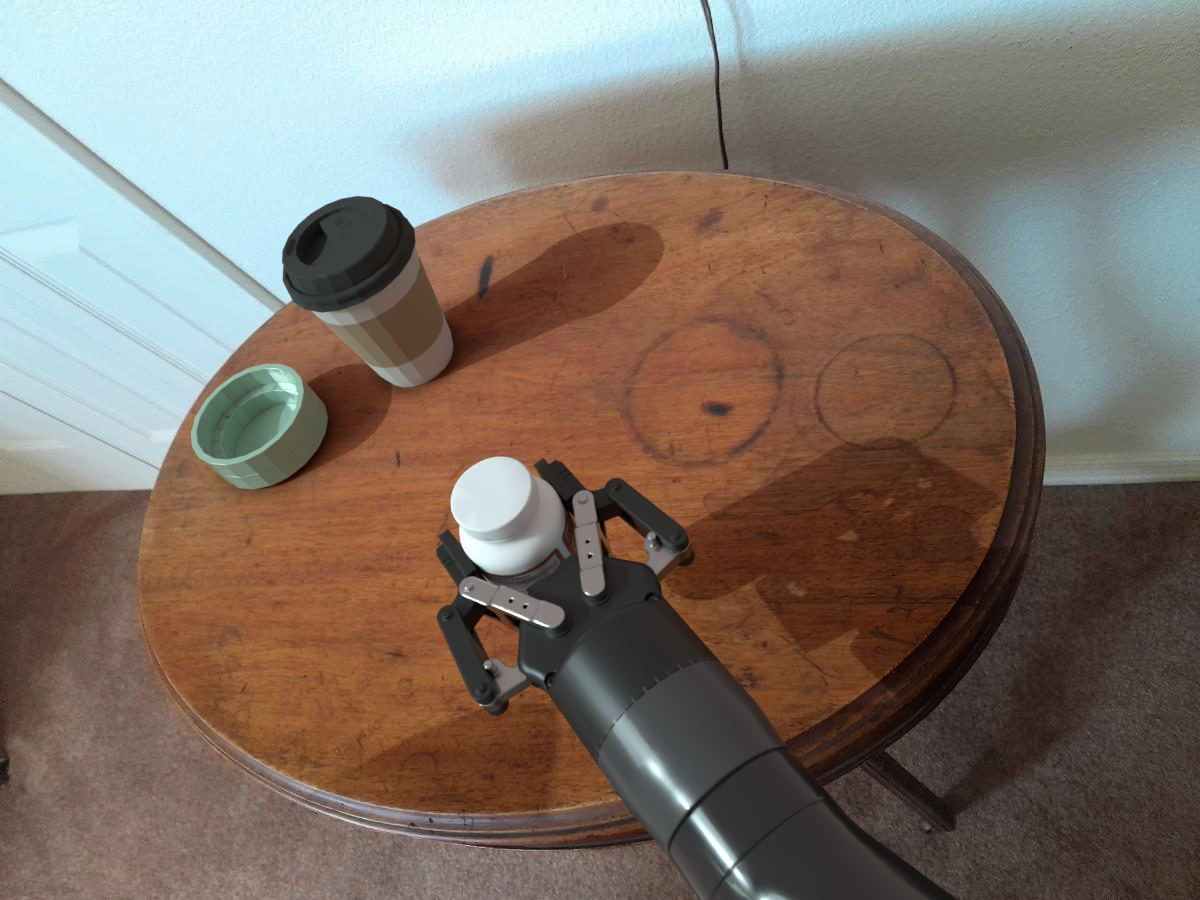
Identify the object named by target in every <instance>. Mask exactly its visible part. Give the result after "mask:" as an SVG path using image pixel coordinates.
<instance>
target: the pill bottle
mask: <svg viewBox="0 0 1200 900" xmlns="http://www.w3.org/2000/svg"><path fill="white" fill-rule="evenodd" d="M450 510H451V514H452V516H453V518H454V519H455V521H456V522H457V524H458V525H459V531H458V533H459V539H460V540H459V542H460V544H461V545H462V547H463V549H464V551H465V553H466V555H467V556H468V558H469V559H470V560H471V561H472V563H473V564H474V565H475V566H476V567H477V569H478V570H479V571H480V572H481V573H482V575H483V576H484V577H485V579H486V580H487V582H489V583H491V584H494V585H496V586H500V585H503V586H506V587H508V588H511V589H513V590H516V591H518V592H521V593H523V594H526V595H527V594H528V592H527V590H526V589H527V588H529V587H530V586H531V585H532V584H534V583H535V582H536V581H538V580H540V579H542V578H544V577H546V576H548V575H550V574H552V573H553V571H554V570H555V569H556V568H557V567H558V565H559V564H560V563H561V562H562V561H563V560H565V559H566V558H567V557H568V556H570V555H571V554H572V553H573V554H574V556H578V550H577V543H576V537H575V527H576V523H575V518H574V517H573V516H572V515H571V513H570V512H569V511H568V509H567V508H566V506H565V504H564V503H563V501H562V499H561V498H560V496H559V495H558V493H557V492H556V491H555V489H554V488H553V487H552V486H551V485H550V484H549V483H547V482H546V481H545V480H543V479H541V477H540V476H537V475H533V474H532V473H531V472H530V470H529V469H528V467H526V465H525V464H524V463H523V462H521V461H519V460H518V459H516V458H514V457H510V456H493V457H488V458H484V459H483V460H480V461H478V462H476V463H475V464H473V465H472V466H470V467H469V468H468V469H467V470H465V471H464V472H463V473H462V474H461V476H459V478H458V479H457V481H456V483H455V484H454V487H453V489H452V492H451V496H450Z"/></svg>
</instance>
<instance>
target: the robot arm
mask: <svg viewBox="0 0 1200 900" xmlns="http://www.w3.org/2000/svg"><path fill="white" fill-rule="evenodd" d="M533 467H534V469H535V470H536V472H537V474H538V475H539V478H541V479H543V480H545V481H546V482H547V483H549V484H550V485H551V486H552V487H553V488H554V489H555V491H556V492H557V493H558V495H559V496H560V498H561V499H562V501H563V503H564V504H565V506H566V508H567V509H568V511H569V513H570V514H571V516H572V518H573V519H574V521H575V523H576V527H575V537H576V543H577V550H578V556H574V554H573V553H572V554H571V555H570V556H568V557H567V558H566V559H565V560H563V561H562V562H561V563H560V564H559V565H558V567H557V568H556V569H555V570H554V571H553V573H552V574H550V575H548V576H546V577H544V578H542V579H540V580H538V581H536V582H535V583H534V584H532V585H531V586H530V587H529V588H527V589H526V590H527V592H528V594H527V595H526V594H523V593H521V592H518V591H516V590H513V589H511V588H508V587H506V586H503V585H500V586H496V585H494V584H491V583H489V582H488V580H487V579H486V578H485V577H484V576H483V574H482V573H481V572H480V571H479V570H478V569H477V567H476V566H475V565H474V564H473V563H472V561H471V560H470V559H469V558H468V556H467V555H466V553H465V551H464V549H463V547H462V544H461V542H460V541H459V539H457V538H456V537H455V535H454V534H453V532H451V531H450V530H449V528H446V529H445V530H444V531H443V532H440V534H438V535H437V537H438V539H439V540H440V542H441V543H442V544H440V545H438V547H436V548H435V551H436V552H435V553H436V558H437V559H438V560H439V562H440V564H442V566H443V568H444V569H445V571H446V572H447V573H448V575H449V577H450V578H451V579H452V581H453V582H454V584H455V586H456V588H457V593H456V596H455V598H454V599H453V600H452V602H451V603H450V604H446V605H443V606H442V607H441V608H440V609H439V610H438V611H437V614H436V621H437V624H438V626H439V628H440V631H441V633H442V636H443V637H444V640H445V642H446V644H447V647H448V648H449V649H448V650H449V651H450V653H451V655H452V657H453V660H454V662H455V664H456V666H457V669H458V670H459V674H460V676H461V678H462V680H463V682H464V684H465V687H466V690H467V691H468V694H469V696H470V698H471V699H473V700H474V701H475V702H476V703H477V704H478V705H479V706H480V707H481V708H482V709H484V710H485V711H486V712H488V713H489V714H490V715H491V716H494V717H498V716H502V715H503V714H505V713H506V712H507V710H508V708H509V706H510V700H511V699H512V698H513V697H515V696H517V695H518V694H520V693H521V692H523V691H525V690H526V689H528V688H530V687H531V686H532V687H534V688H535V689H539V690H541V691H543V692H545V693H546V694H547V695H548V696H549V698H550V699H551V701H552V702H553V704H554V705H555V707H556V708H557V709H558V711H559V712H560V713H561V715H562V717H563V718H564V719H565V720H566V722H567V723H568V725H569V726H570V728H571V729H572V731H573V732H574V733H575V735H576V736H577V738H578V739H579V741H580V743H581V744H582V745H583V746H584V748H585V749H586V751H587V752H588V753H589V755H590V756H591V758H592V760H593V761H594V762H595V764H596V765H597V767H598V768H599V770H600V771H601V773H602V774H603V775H604V777H605V778H606V779H607V781H608V782H609V785H610V786H611V788H612V790H613V792H614V793H615V794H616V795H617V796H618V797H619V799H620V800H621V801H622V803H623V804H624V806H625V807H626V808H627V810H628V811H629V812H630V814H631V815H632V816H633V817H634V818H635V819H636V821H637V822H638V823H639V824H640V825H641V827H642V828H643V829H644V830H645V831H646V832H647V833H648V834H649V835H650V836H651V837H652V839H654V840H655V842H656V843H657V844H658V845H659V846H660V848H661V850H662V851H664V853H665V854H666V855H667V856H668V857H669V859H670V860H671V862H672V863H673V865H674V866H675V868H676V869H677V870H678V872H679V874H680V875H681V877H682V878H683V879H684V880H685V882H686V883H687V885H688V886H689V888H690V889H691V890H692V892H693V894H694V895H695V896H696V898H697V899H698V900H960V899H959V898H957V897H956V896H954V895H953V894H952V893H950V892H949V891H947V890H946V889H945V888H943V887H942V886H940V885H939V884H937V882H935V881H934V880H932V879H930V878H929V877H928V876H927V875H925V874H923V872H922V871H920V870H918V869H917V868H916V867H914V866H913V865H912V864H910V863H909V862H907V860H905V859H904V858H902V857H901V856H900V855H899V854H897V853H895V852H894V851H893V850H891V849H890V848H889V847H887V846H886V845H884V844H883V843H882V842H880V841H879V840H878V839H876V838H875V837H873V836H872V835H871V834H869V833H868V832H867V831H865V830H864V829H863V828H862V827H860V825H858V824H857V823H856V822H855V821H854V820H853V819H852V818H851V817H850V816H849V815H848V814H847V812H846V811H845V810H844V809H843V808H842V807H841V806H840V804H839V803H838V802H837V800H835V799H834V797H832V796H831V794H830V793H829V792H828V791H827V789H825V787H824V786H823V785H822V784H821V783H820V782H819V781H818V779H817V778H816V777H815V776H814V775H813V774H812V773H811V771H810V770H809V769H808V768H807V767H806V766H805V765H804V763H803V762H802V761H801V760H800V759H799V758H798V757H797V755H796V754H795V753H794V752H793V751H792V750H791V749H790V747H789V746H788V745H787V743H786V742H785V741H784V740H783V738H782V737H781V736H780V734H779V733H778V731H777V729H776V728H775V726H774V725H773V724H772V722H771V720H770V719H769V716H767V714H766V713H765V712H764V710H763V709H762V708H761V706H760V705H759V704H758V703H757V701H756V700H755V699H754V698H753V696H751V694H749V692H748V690H746V689H745V688H744V686H743V685H742V684H741V683H740V682H739V680H737V679H736V677H735V676H734V675H733V674H732V672H731V671H730V670H728V668H727V667H726V666H725V665H724V663H722V661H721V660H720V659H719V658H718V657H717V656H716V655H715V653H714V652H713V651H712V650H711V649H710V648H709V646H708V645H706V643H705V642H704V641H703V640H702V639H701V638H700V637H699V635H698V634H697V633H696V632H695V631H694V630H693V629H692V628H691V626H690V625H689V624H688V623H687V622H686V621H685V619H684V618H683V617H682V616H681V615H680V613H679V612H677V611H676V609H675V608H674V607H673V606H672V605H671V603H670V602H669V601H668V600H667V599H666V598H665V597H664V595H663V589H662V584H661V582H662V581H663V580H664V579H665V578H666V577H667V576H668V575H669V574H670V573H671V572H672V571H674V569H675V568H676V567H677V566H678V567H681V568H686V567H689V566H691V565H692V564H693V563H694V561H695V559H696V553H695V550H694V547H693V545H692V542H691V540H690V538H689V535H688V532H687V529H686V528H685V527H684V526H683V525H681V524H680V523H678V522H677V521H676V520H675V519H674V518H672V517H671V516H670V515H669V514H667V513H666V512H665V511H663V510H662V509H660V508H659V507H658V506H657V505H656V504H654V503H653V502H652V501H651V500H649V499H648V498H647V497H646V496H644V495H643V494H642V493H640V491H638V490H637V489H635V487H633V486H631V485H630V484H629V483H628V482H626V481H625V480H624V479H623V478H621V477H613V478H610V479H608V480H607V482H605V485H604V487H601V488H599V489H595V490H593V489H592V490H591V489H588V488H586V487H585V485H584V484H582V482H580V480H579V479H578V477H576V476H575V475H574V474H573V472H572V471H571V470H570V469H569V468H568V467H567V466H566V464H564V462H562V461H560V460H557V459H554V460H553V461H551V462H550V463H549V462H548V461H547V460H546V459H545V458H544V457H542V458H541V459H539V460H537V462H535V463H534V464H533ZM617 517H619V518H620V519H621V520H622V521H623V522H624V523H626V524H627V525H628V526H629V527H630V528H632V530H634V531H636V533H638V534H639V535H640V536H641V537H643V538H644V539H643V543H642V544H643V548H644V550H645V551H646V553H647V556H648V558H647V560H646V563H645V562H642V561H641V562H640V561H635V560H631V559H624V558H618V557H614V556H613V551H612V547H611V545H610V540H609V536H608V529H607V522H606V521H610V520H612V519H614V518H617ZM483 617H485V618H488V619H490V620H492V621H495V622H497V623H499V624H501V625H503V626H505V627H507V628H508V629H509V630H511V631H513V632H515V633H517V634H518V645H517V646H518V647H517V659H516V660H517V664H516V665H515V666H507V665H506V664H505V663H504V662H503V661H502V660H501V659H499V658H497V657H494V658H490V657H489V655H488V653H487V651H486V649H485V647H484V644H483V642H482V641H481V638H480V636H479V634H478V632H477V630H476V628H475V627H476V626H477V625H478V624H479V622H480V621H481V619H482V618H483Z"/></svg>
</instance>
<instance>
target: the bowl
mask: <svg viewBox="0 0 1200 900" xmlns="http://www.w3.org/2000/svg"><path fill="white" fill-rule="evenodd" d="M328 421H329V416H328V411H327V408H326V405H325V403H324V401H323V400H322V399H321V398H320V396H318V395H317V393H316V392H315V391H314V390H313V389H312V387H310V384H308V383H307V382H306V380H305V379H303V377H302V376H301V375H300V374H299V373H298V372H297V370H295V368H293V367H290V366H288V365H285V364H283V363H262V364H259V365H258V364H257V365H254V366H251V367H248V368H245V369H243V370H241V371H240V372H238V373H236V374H233V375H232V376H230V377H229V378H228V379H227V380H226V381H224V382H223V383H221V384H220V385H218V386H217V387H216V388H215V389H214V390H213V391H212V393H211V394H210V395H209V396H208V397H207V398H206V399H205V400H204V402H203V403H202V405H201V407H200V408H199V410H198V412H197V414H196V415H195V417H194V420H193V423H192V424H193V425H192V427H191V431H190V438H191V439H190V440H191V448H192V449H193V451H194V452H195V455H196V456H197V458H198V459H200V460H201V461H202V462H203V463H205V465H207V466H208V467H209V468H210V469H212V470H213V471H214V472H215V473H216V474H218V475H219V477H221V478H222V479H224V481H225V482H227V483H228V484H231V485H232V486H234V487H236V488H237V489H243V490H244V489H245V490H258V489H262V488H266V487H270V486H274V485H276V484H278V483H280V482H282V481H284V480H286V479H289V478H290V477H291V476H292V475H293V474H295V473H297V472H298V471H299V470H300V469H301V468H303V466H306V464H307V463H308V462H309V461H310V459H311V458H312V457H313V455H314V454H315V453H316V452H317V451H318V449H319V447H320V446H321V444H322V441H323V439H324V438H325V436H326V433H327V426H328Z"/></svg>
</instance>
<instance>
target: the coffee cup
mask: <svg viewBox="0 0 1200 900" xmlns="http://www.w3.org/2000/svg"><path fill="white" fill-rule="evenodd" d="M415 232H416V231H415V228H414V226H413V225H412V224H411V222H410V221H409V219H408V218H407V217H405V215H404V214H403V213H402V211H401V210H400V209H398V208H396V207H394V206H392V205H390V204H388V203H383V202H382V201H381V200H379V199H377V198H375V197H372V196H363V195H355V196H354V195H353V196H348V197H343V198H340V199H337V200H334V201H332V202H328V203H326V204H324V205H322V206H321V207H320V208H318V209H316V210H314V211H313V212H310V214H308V215H307V216H306V217H305V218H304V219H302V220H301V221H300V222H299V223H298V224H297V225H296V227H295V228H294V229H293V230H292V232H291V233H290V234H289V236H288V237H287V239H286V242H285V243H284V247H283V248H282V253H281V263H282V283H283V286H284V287H285V289H286V291H287V293H288V294H289V296H290V299H291V301H292V302H293V303H294V304H295V305H297V306H298V307H300V308H301V309H303V310H305V311H309V312H312V313H313V314H314V315H315V316H316V317H317V318H318V319H319V320H320V321H321V322H323V323H324V325H326V326H327V327H328V328H329V329H330V330H331V331H332V332H333V333H334V334H335V335H336V336H337V337H338V338H339V339H340V340H342V341H343V342H344V343H345V344H346V345H347V346H348V347H349V348H350V349H351V350H352V351H353V352H354V353H355V354H356V355H357V356H358V357H359V358H361V360H363V361H364V362H365V363H366V364H367V365H368V366H369V367H370V368H371V369H372V370H373V371H374V372H375V373H376V374H377V375H378V376H379V377H381V378H382V379H384V381H386V382H389V383H390V384H392V385H393V386H395V387H399V388H416V387H418V386H421V385H424V384H426V383H428V382H430V381H432V380H433V379H434V378H436V377H437V376H439V375H440V374H441V373H442V372H443V371H444V370H445V369H446V368H447V366H448V364H449V363H450V361H451V359H452V356H453V353H454V341H453V337H452V336H453V335H452V331H451V329H450V327H449V324H448V321H447V320H446V317H445V314H444V313H443V309H442V308H441V305H440V303H439V300H438V298H437V295H436V293H435V291H434V289H433V286H432V283H431V281H430V279H429V277H428V274H427V272H426V269H425V267H424V264H423V262H422V260H421V257H420V255H419V253H418V250H417V248H416V243H417V241H416V233H415Z"/></svg>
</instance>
